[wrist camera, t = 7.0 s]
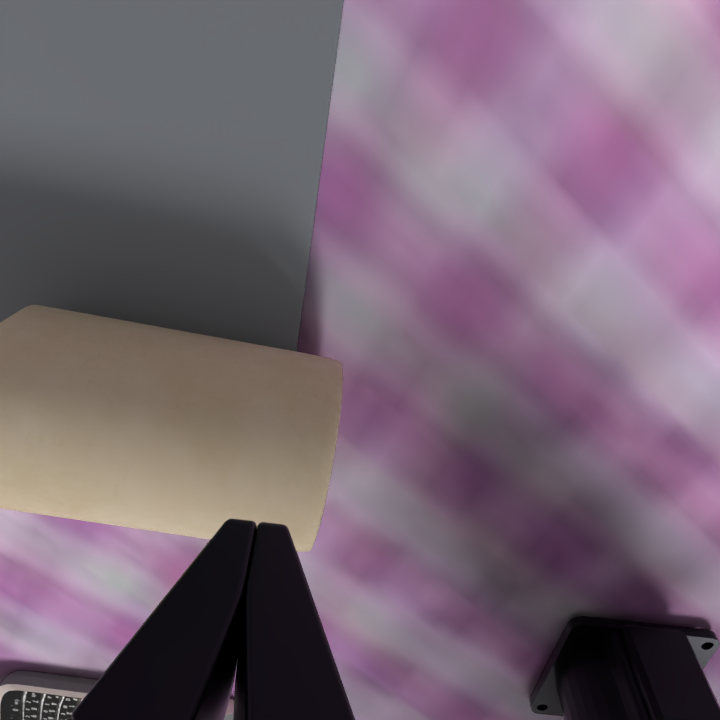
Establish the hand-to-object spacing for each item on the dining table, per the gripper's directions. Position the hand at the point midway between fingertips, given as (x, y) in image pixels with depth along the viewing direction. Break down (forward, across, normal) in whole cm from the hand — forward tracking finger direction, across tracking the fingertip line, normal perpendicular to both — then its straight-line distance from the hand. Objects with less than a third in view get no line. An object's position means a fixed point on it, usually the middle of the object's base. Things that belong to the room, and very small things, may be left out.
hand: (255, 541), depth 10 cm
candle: (+8, -2, +5) cm, 10 cm away
